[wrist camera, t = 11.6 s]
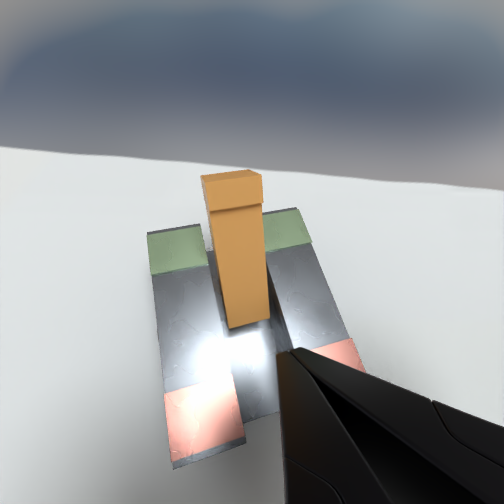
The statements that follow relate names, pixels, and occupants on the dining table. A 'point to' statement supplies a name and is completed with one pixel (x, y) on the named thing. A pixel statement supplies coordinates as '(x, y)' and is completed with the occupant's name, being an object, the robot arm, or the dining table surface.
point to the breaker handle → (238, 243)
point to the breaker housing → (235, 333)
